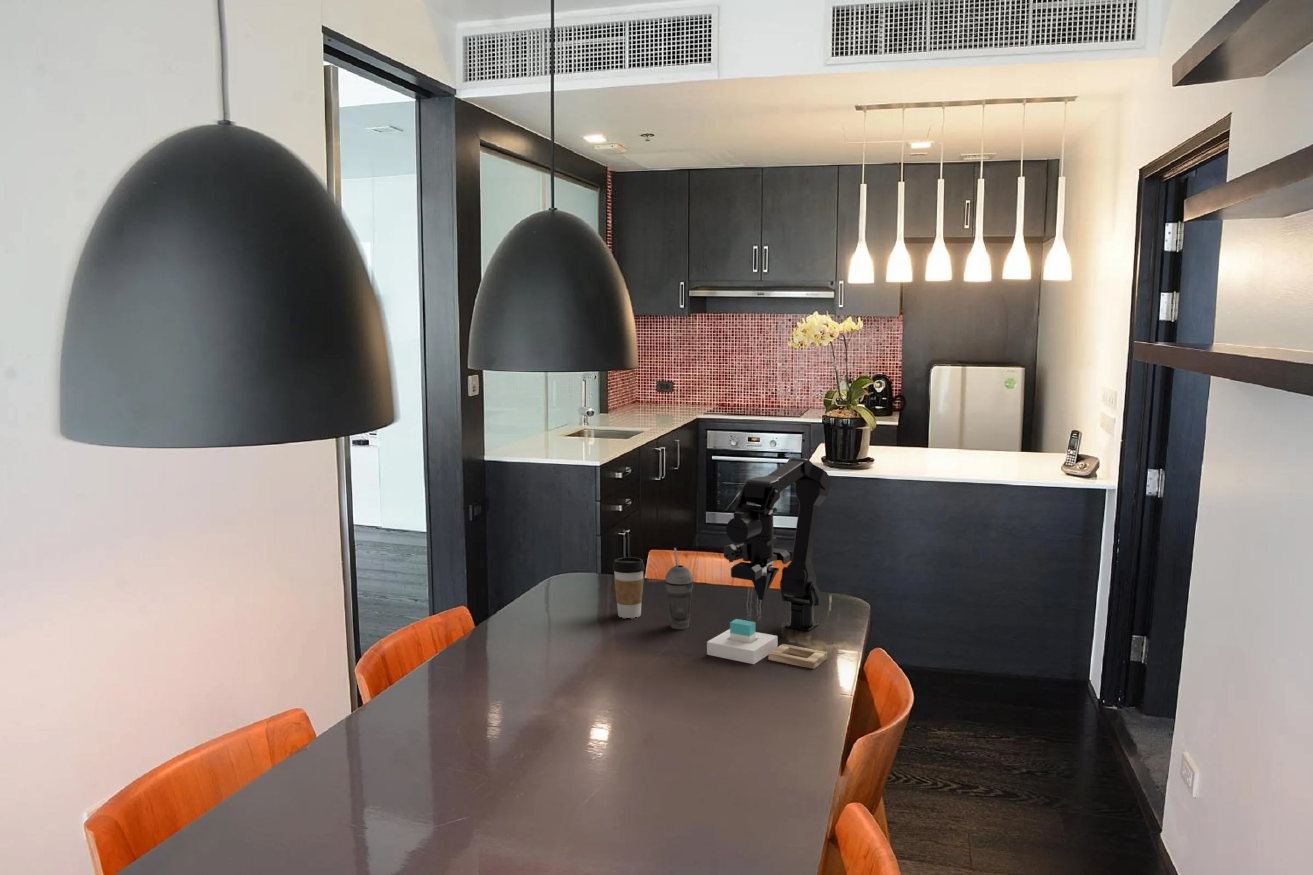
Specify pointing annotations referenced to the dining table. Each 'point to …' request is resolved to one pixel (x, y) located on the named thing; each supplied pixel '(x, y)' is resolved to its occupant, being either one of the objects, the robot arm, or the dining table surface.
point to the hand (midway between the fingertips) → (761, 599)
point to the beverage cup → (679, 594)
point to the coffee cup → (629, 586)
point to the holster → (782, 656)
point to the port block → (742, 647)
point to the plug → (742, 631)
